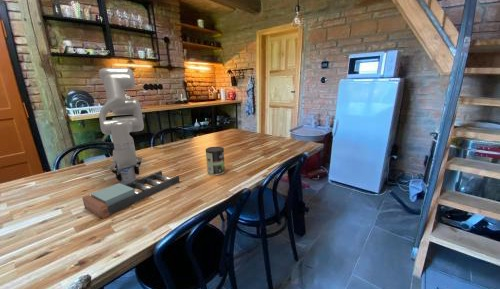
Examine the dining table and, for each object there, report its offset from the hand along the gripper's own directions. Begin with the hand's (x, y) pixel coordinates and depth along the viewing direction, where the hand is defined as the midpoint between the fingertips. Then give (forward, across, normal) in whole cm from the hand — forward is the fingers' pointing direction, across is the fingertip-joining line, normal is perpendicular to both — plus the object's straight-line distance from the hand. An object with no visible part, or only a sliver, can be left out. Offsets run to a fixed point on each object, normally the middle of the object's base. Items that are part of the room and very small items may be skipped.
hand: (128, 177), depth 116 cm
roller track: (+3, +5, +15) cm, 16 cm away
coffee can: (+3, -34, +31) cm, 46 cm away
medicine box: (+3, 0, 0) cm, 3 cm away
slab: (0, +15, +15) cm, 21 cm away
